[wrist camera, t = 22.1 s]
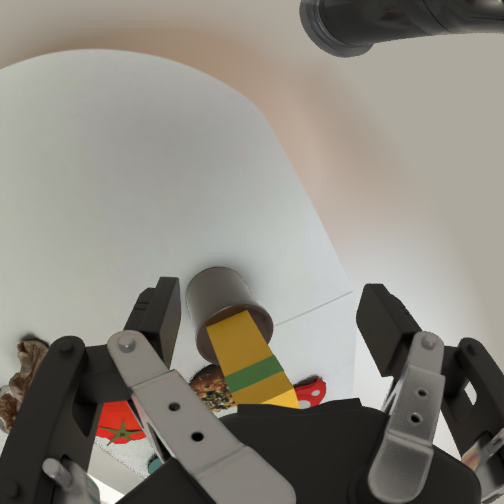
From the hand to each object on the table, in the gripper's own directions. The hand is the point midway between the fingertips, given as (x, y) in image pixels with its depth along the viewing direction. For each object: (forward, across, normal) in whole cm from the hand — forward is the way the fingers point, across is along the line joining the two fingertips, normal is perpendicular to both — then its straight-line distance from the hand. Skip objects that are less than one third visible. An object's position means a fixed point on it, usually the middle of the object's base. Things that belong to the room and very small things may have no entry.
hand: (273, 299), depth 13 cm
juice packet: (+14, +1, +15) cm, 20 cm away
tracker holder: (+28, -13, +42) cm, 52 cm away
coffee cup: (+23, +4, +15) cm, 27 cm away
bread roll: (+23, +3, +33) cm, 40 cm away
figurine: (+15, +30, +22) cm, 40 cm away
